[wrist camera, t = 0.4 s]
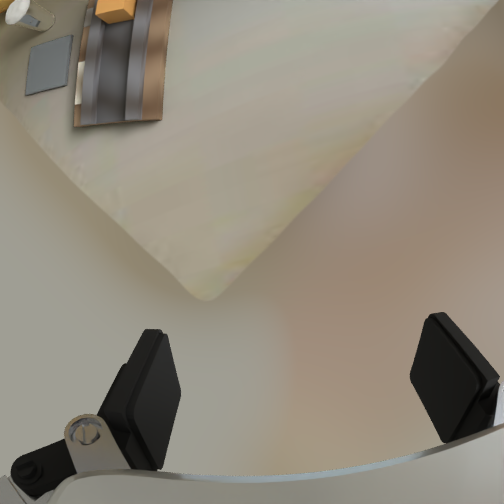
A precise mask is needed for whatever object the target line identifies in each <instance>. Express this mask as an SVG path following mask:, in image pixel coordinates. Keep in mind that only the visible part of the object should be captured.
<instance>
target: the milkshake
mask: <svg viewBox="0 0 504 504" xmlns="http://www.w3.org/2000/svg"><path fill="white" fill-rule="evenodd" d="M5 20H6V23H7V24H10V25H16V26H22V27H26V28H30V29H34V30H38V31H42V32H43V31H46V30H48V29H49V28H50V27H51V26H52V25H53V23H54V21H55V15H54V14H52V13H51V12H49V11H48V10H46V9H45V8H43V7H41V6H40V5H39V4H37V3H36V2H35V1H33V0H15V1H14V2H13V3H11V4H10V6H9V8H8V9H7V12H6V18H5Z"/></svg>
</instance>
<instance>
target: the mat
mask: <svg viewBox="0 0 504 504" xmlns="http://www.w3.org/2000/svg"><path fill="white" fill-rule="evenodd" d="M72 40H73V35H68V36H65V37H62V38H58V39H55V40H52V41H49V42H46V43H43V44H40V45H37V46H34V47H32V48H31V53H30V59H29V66H28V74H27V83H26V94H25V95H30V94H34V93H38V92H41V91H45V90H49V89H53V88H58V87H62V86H66V85H67V79H68V69H69V61H70V53H71V46H72Z"/></svg>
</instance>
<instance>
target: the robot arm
mask: <svg viewBox="0 0 504 504" xmlns="http://www.w3.org/2000/svg"><path fill="white" fill-rule="evenodd" d="M499 377H500V376H499V375H498V373H497V372H496V371H495V370H494V368H493V367H492V366H491V365H490V364H489V362H488V361H487V360H486V359H485V357H484V356H483V355H482V354H481V353H480V352H479V350H478V349H477V348H476V347H475V346H474V345H473V343H472V342H471V341H470V340H469V339H468V338H467V337H466V335H465V334H464V333H463V332H462V331H461V330H460V329H459V327H458V326H456V324H455V323H454V322H453V321H452V320H451V319H450V318H449V317H448V315H447V314H446V313H444V312H440V313H433V314H430V315H429V317H428V318H427V319H426V320H425V322H424V326H423V329H422V333H421V338H420V341H419V344H418V348H417V352H416V355H415V358H414V362H413V365H412V368H411V371H410V380H411V383H412V384H413V386H414V388H415V390H416V392H417V394H418V395H419V397H420V399H421V401H422V403H423V405H424V407H425V409H426V410H427V413H428V415H429V417H430V419H431V421H432V423H433V425H434V427H435V429H436V431H437V433H438V435H439V437H440V439H441V441H442V442H443V443H446V444H444V445H441V446H437V447H434V448H431V449H428V450H424V451H421V452H417V453H414V454H410V455H406V456H402V457H398V458H394V459H389V460H385V461H380V462H376V463H371V464H366V465H361V466H355V467H349V468H343V469H336V470H329V471H320V472H311V473H300V474H287V475H270V476H217V475H193V474H181V473H170V472H159V471H157V469H160V470H161V469H162V468H163V464H164V460H165V456H166V452H167V448H168V444H169V440H170V436H171V432H172V428H173V424H174V420H175V416H176V413H177V409H178V405H179V401H180V397H181V389H180V385H179V381H178V377H177V373H176V369H175V365H174V361H173V357H172V352H171V348H170V344H169V339H168V336H167V334H163V332H162V330H160V329H145V330H144V332H143V333H142V336H141V337H140V339H139V341H138V343H137V345H136V347H135V349H134V350H133V353H132V354H131V356H130V358H129V360H128V362H127V364H126V363H125V364H123V365H122V367H121V368H120V370H119V372H118V374H117V376H116V378H115V380H114V382H113V384H112V386H111V387H110V390H109V391H108V393H107V395H106V397H105V400H104V401H103V403H102V405H101V407H100V409H99V411H98V414H97V415H93V414H84V415H80V416H77V417H76V418H74V419H72V420H71V421H70V422H69V423H68V425H67V426H66V427H65V431H64V436H65V439H62V440H60V441H58V442H55V443H53V444H50V445H48V446H46V447H43V448H41V449H38V450H35V451H33V452H30V453H27V454H25V455H22V456H20V457H19V458H17V459H16V460H15V462H14V463H13V465H12V467H11V476H9V477H7V476H5V475H4V476H3V477H1V478H0V504H504V381H503V382H502V383H501V384H499V383H498V379H499Z"/></svg>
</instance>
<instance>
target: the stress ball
mask: <svg viewBox="0 0 504 504" xmlns="http://www.w3.org/2000/svg"><path fill="white" fill-rule="evenodd" d="M14 1H15V0H0V13H2V12H4V11H5V10H7V9H8V8H9V6H10V4H11V3H13V2H14Z"/></svg>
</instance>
